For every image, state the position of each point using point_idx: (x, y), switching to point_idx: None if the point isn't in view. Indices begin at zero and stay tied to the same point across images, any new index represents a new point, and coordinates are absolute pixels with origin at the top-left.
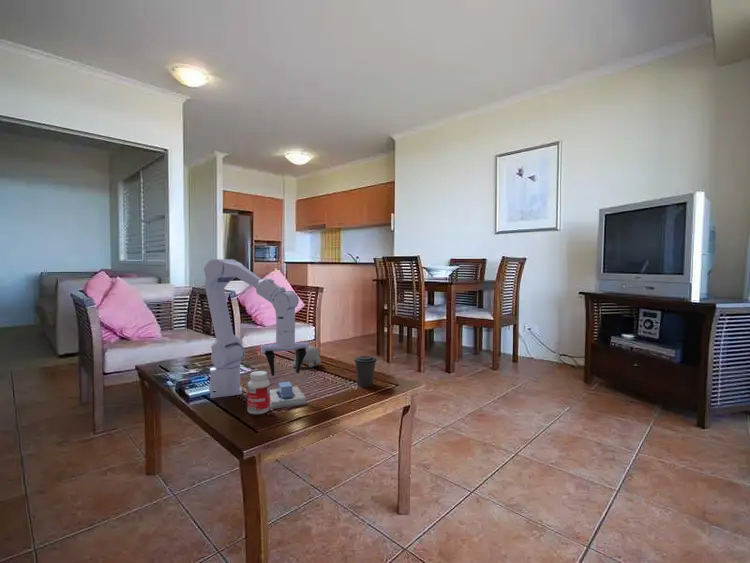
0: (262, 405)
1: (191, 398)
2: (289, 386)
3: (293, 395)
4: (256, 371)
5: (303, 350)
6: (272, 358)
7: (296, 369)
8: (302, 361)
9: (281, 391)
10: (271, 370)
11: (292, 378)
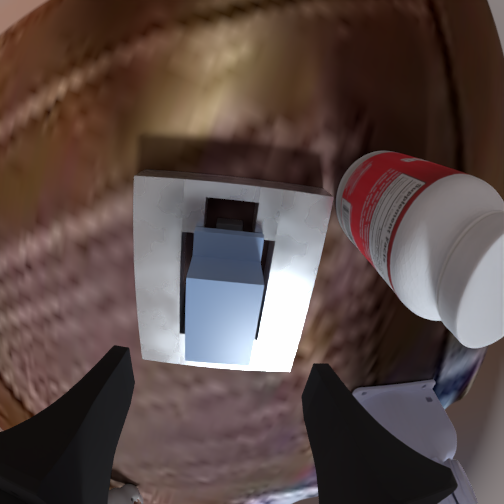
0: (400, 154)
1: (456, 388)
2: (206, 278)
3: (181, 272)
4: (489, 340)
5: (12, 494)
6: (394, 471)
7: (125, 383)
8: (112, 491)
9: (260, 271)
10: (349, 391)
11: (148, 445)
